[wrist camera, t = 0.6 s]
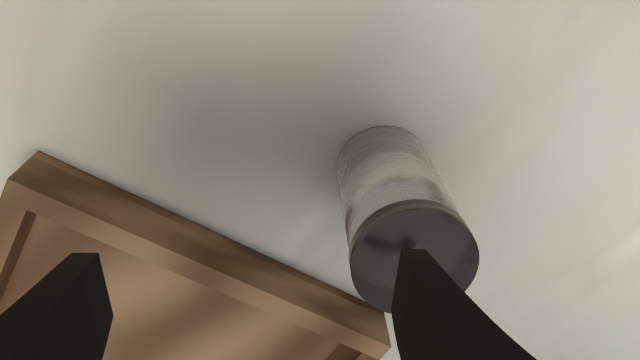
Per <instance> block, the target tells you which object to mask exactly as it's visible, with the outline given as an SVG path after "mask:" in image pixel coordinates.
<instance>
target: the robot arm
mask: <svg viewBox="0 0 640 360" xmlns="http://www.w3.org/2000/svg"><path fill="white" fill-rule="evenodd" d="M391 313H392V319H393V325H394V331H395V336H396V341H397V347H398V350H399V354H400V357H401V360H536V359H535V358H534V357H533V356H532V355H530V354H529V353H528V352H527V351H525V350H524V349H523V348H522V347H521V346H520V345H518V344H517V343H516V342H515V341H514V340H513V339H512V338H510V337H509V336H508V335H507V334H506V333H505V332H504V331H503V330H502V329H501V328H500V327H499V326H497V325H496V324H495V323H494V322H493V321H492V320H491V319H490V318H489V317H488V316H487V315H486V314H485V313H484V312H483V311H482V310H481V309H480V308H479V307H478V306H477V305H476V304H475V303H474V302H473V301H472V300H471V299H470V297H469V296H468V295H467V294H466V293H465V292H464V291H463V290H462V289H461V288H460V287H459V286H458V285H457V284H456V282H455V281H454V280H453V279H452V278H451V277H450V276H449V275H448V274H447V272H446V271H445V270H444V269H443V268H442V267H441V266H440V265H439V263H438V262H437V261H436V260H435V259H434V258H433V257H432V256H431V255H430V253H429V252H428V251H427V250H426V249H401V251H400V257H399V263H398V269H397V275H396V281H395V288H394V294H393V300H392V306H391ZM113 316H114V315H113V311H112V307H111V303H110V299H109V294H108V290H107V286H106V282H105V278H104V274H103V269H102V265H101V261H100V257H99V253H71V254H70V255H68V256H67V257H66V258H65V259H64V260H62V261H61V262H60V263H59V264H58V265H57V266H56V267H55V268H53V269H52V270H51V271H50V272H49V273H48V274H47V275H46V276H44V277H43V278H42V279H41V280H40V281H39V282H38V283H37V284H35V285H34V286H33V287H32V288H31V289H30V290H29V291H28V292H26V293H25V294H24V295H23V296H22V297H21V298H19V299H18V300H17V301H16V302H15V303H14V304H12V305H11V306H10V307H9V308H8V309H7V310H6V311H4V312H3V313H2V314H1V315H0V360H102V358H103V355H104V351H105V348H106V344H107V340H108V336H109V332H110V328H111V324H112V320H113Z"/></svg>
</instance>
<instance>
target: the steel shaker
mask: <svg viewBox="0 0 640 360" xmlns="http://www.w3.org/2000/svg"><path fill="white" fill-rule="evenodd" d="M337 175H338V181H339V188H340V194H341V201H342V207H343V214H344V220H345V227H346V233H347V240H348V246H349V263H350V269H351V276H352V280H353V284H354V286H355V288H356V290H357V292H358V293H359V295H360V296H361V297H362V298H363V299H364V300H365V301H366V302H367V303H369V304H370V305H372V306H373V307H375V308H377V309H379V310H382V311H385V312H387V313H391V306H392V300H393V294H394V288H395V281H396V275H397V269H398V263H399V257H400V251H401V249H426V250H427V251H428V252H429V253H430V255H431V256H432V257H433V258H434V259H435V260H436V261H437V262H438V263H439V265H440V266H441V267H442V268H443V269H444V270H445V271H446V272H447V274H448V275H449V276H450V277H451V278H452V279H453V280H454V281H455V282H456V284H457V285H458V286H459V287H460V288H461V289H462V290H463V291H465V290H466V289H467V288H468V287H469V285H470V284H471V282H472V281H473V279H474V277H475V275H476V272H477V269H478V265H479V250H478V246H477V243H476V241H475V239H474V237H473V235H472V233H471V231H470V230H469V228H468V226H467V224H466V223H465V221H464V220H463V218H462V217H461V216H460V214H459V213H458V211H457V209H456V207H455V205H454V203H453V202H452V200H451V198H450V196H449V194H448V192H447V190H446V189H445V187H444V185H443V183H442V181H441V179H440V177H439V176H438V174H437V172H436V170H435V168H434V166H433V165H432V163H431V161H430V159H429V157H428V155H427V153H426V152H425V150H424V148H423V146H422V144H421V143H420V141H419V140H418V139H417V138H416V137H415V136H414V135H412V134H411V133H410V132H408V131H406V130H404V129H401V128H398V127H393V126H377V127H372V128H369V129H366V130H364V131H362V132H360V133H359V134H357V135H355V136H354V137H353V138H352V139H351V140H350V141H349V142H348V143H347V144H346V145H345V147H344V148H343V150H342V152H341V154H340V156H339V159H338V164H337Z"/></svg>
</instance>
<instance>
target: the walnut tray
mask: <svg viewBox="0 0 640 360" xmlns="http://www.w3.org/2000/svg"><path fill="white" fill-rule="evenodd" d="M71 253H99V257H100V261H101V265H102V269H103V274H104V278H105V282H106V286H107V290H108V294H109V299H110V303H111V307H112V311H113V315H114V316H113V320H112V324H111V328H110V332H109V336H108V340H107V344H106V348H105V351H104V355H103V358H102V360H380V359H381V358H382V356H383V355H384V354H385V353H386V352H387V351H388V350H389V349H390V348H391V344H390V339H389V334H388V330H387V325H386V320H385V316H384V311H382V310H379V309H377V308H375V307H373V306H372V305H370V304H369V303H366V302H364V301H362V300H360V299H358V298H356V297H353V296H351V295H349V294H347V293H345V292H343V291H340V290H338V289H336V288H334V287H332V286H330V285H327V284H325V283H323V282H321V281H319V280H317V279H314V278H312V277H310V276H308V275H306V274H304V273H301V272H299V271H297V270H295V269H293V268H291V267H288V266H286V265H284V264H282V263H280V262H278V261H275V260H273V259H271V258H269V257H267V256H265V255H262V254H260V253H258V252H256V251H254V250H252V249H249V248H247V247H245V246H243V245H241V244H239V243H236V242H234V241H232V240H230V239H228V238H226V237H223V236H221V235H219V234H217V233H215V232H213V231H210V230H208V229H206V228H204V227H202V226H200V225H197V224H195V223H193V222H191V221H189V220H187V219H184V218H182V217H180V216H178V215H176V214H174V213H171V212H169V211H167V210H165V209H163V208H161V207H158V206H156V205H154V204H152V203H150V202H148V201H145V200H143V199H141V198H139V197H137V196H135V195H132V194H130V193H128V192H126V191H124V190H122V189H119V188H117V187H115V186H113V185H111V184H109V183H106V182H104V181H102V180H100V179H98V178H96V177H93V176H91V175H89V174H87V173H85V172H83V171H80V170H78V169H76V168H74V167H72V166H70V165H67V164H65V163H63V162H61V161H59V160H57V159H54V158H52V157H50V156H48V155H46V154H44V153H41V152H39V151H38V152H37V153H36V154H34V155H33V156H32V157H31V158H30V159H29V160H28V161H27V162H26V163H25V164H23V165H22V166H21V167H20V168H19V169H18V170H17V171H16V172H15V173H14V174H12V175H11V176H10V177H9V178H8V179H7V181H6V184H5V187H4V190H3V192H2V195H1V198H0V315H1V314H2V313H3V312H4V311H6V310H7V309H8V308H9V307H10V306H11V305H12V304H14V303H15V302H16V301H17V300H18V299H19V298H21V297H22V296H23V295H24V294H25V293H26V292H28V291H29V290H30V289H31V288H32V287H33V286H34V285H35V284H37V283H38V282H39V281H40V280H41V279H42V278H43V277H44V276H46V275H47V274H48V273H49V272H50V271H51V270H52V269H53V268H55V267H56V266H57V265H58V264H59V263H60V262H61V261H62V260H64V259H65V258H66V257H67V256H68V255H70V254H71Z"/></svg>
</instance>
